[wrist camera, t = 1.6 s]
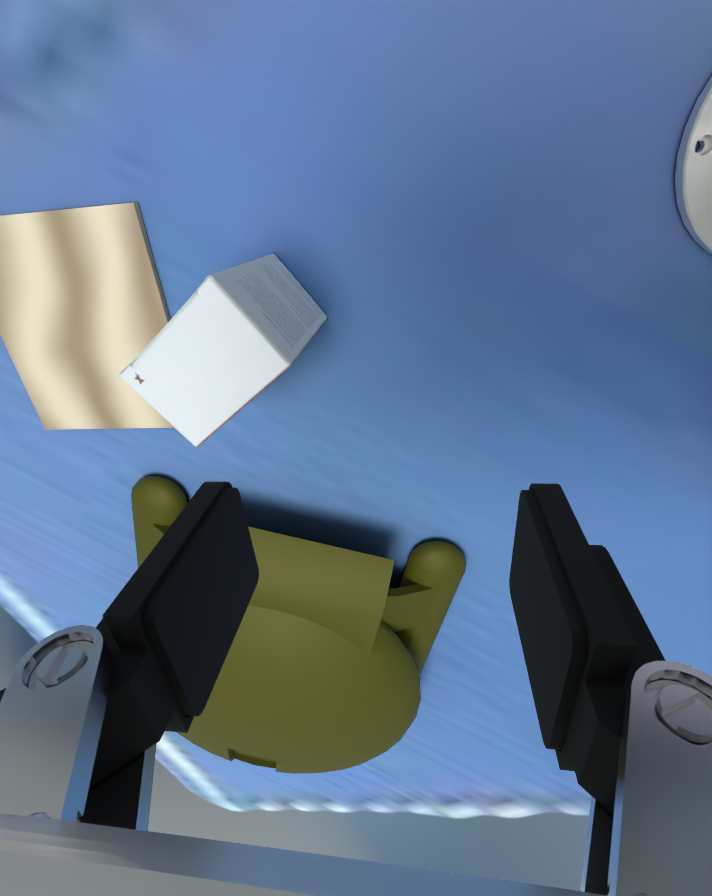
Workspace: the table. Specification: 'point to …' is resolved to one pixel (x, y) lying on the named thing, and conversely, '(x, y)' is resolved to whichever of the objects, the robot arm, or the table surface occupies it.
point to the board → (80, 312)
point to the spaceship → (315, 646)
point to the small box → (225, 346)
